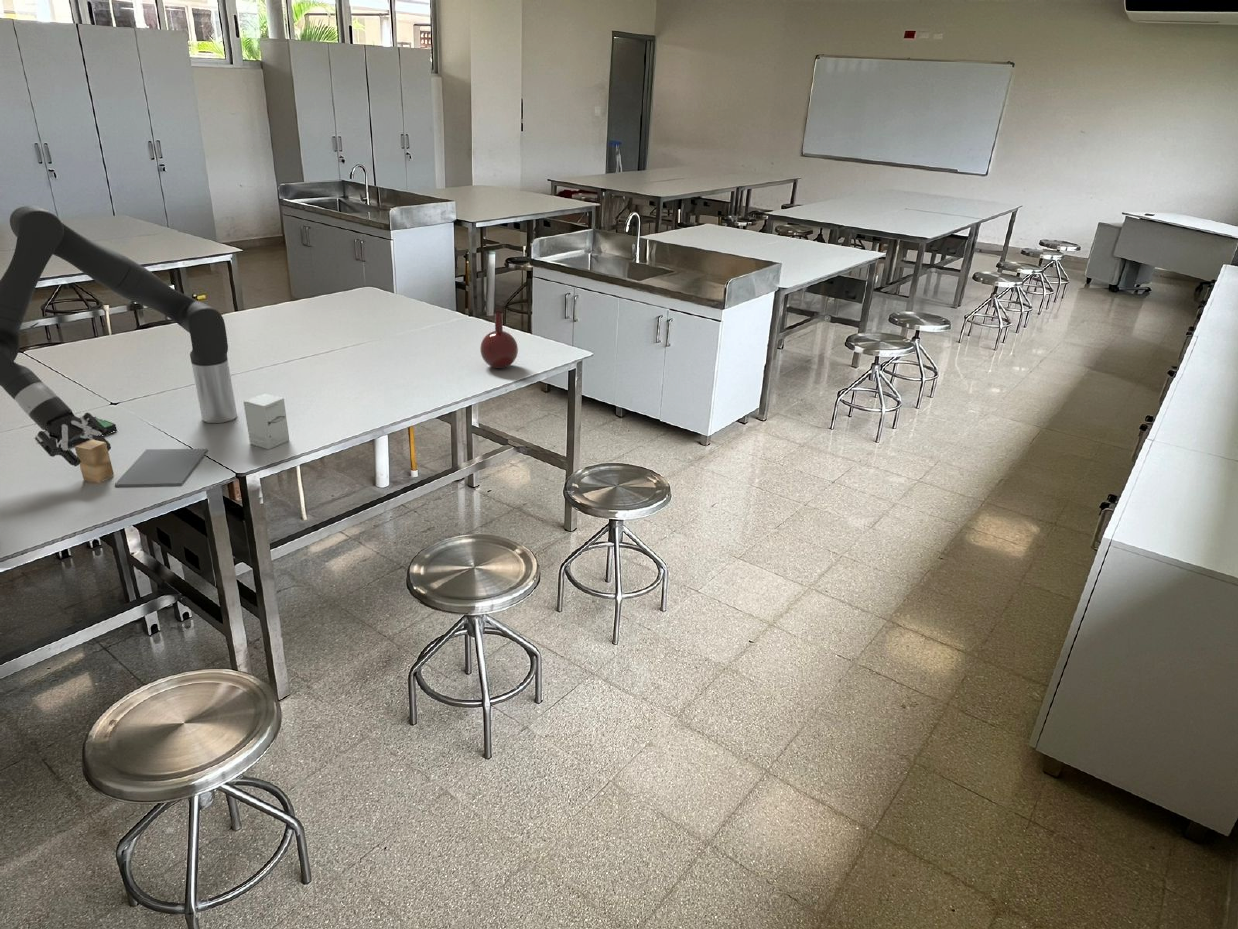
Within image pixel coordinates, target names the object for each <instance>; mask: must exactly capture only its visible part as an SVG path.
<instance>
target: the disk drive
mask: <svg viewBox="0 0 1238 929" xmlns="http://www.w3.org/2000/svg"><path fill="white" fill-rule="evenodd" d="M93 417H94V418H95V419H96V420H97V421H98V422H99V423H101V424H102V425H103V426H104V427H105V428H106V430H105V432H104V433H103V434H102V435H105V436H108V435H110V434H109V433H111V432H113V431H117V432H118V430H117V429H118V428H117V425H116V424H115V423H114V422H111V421H108V420H106V419H102V418H99V417H97V416H93ZM82 424H83V423H82ZM83 425H84V424H83ZM86 426H87V425H86ZM42 431H43V432H45V430H42ZM83 432H85V430H83ZM107 434H108V435H107ZM111 434H112V433H111ZM92 435H93V434H92ZM50 439H51V440H52V442H53V443H54V444H55V445H56V439H55V438H52V437H50ZM88 440H91V439H89V438H82V437H79V438H77V439H73V440H72V441H70V442H68V443H67V444H68V448H71V447H73V446H72V445H74V446H77V445H79V444H82V443H84V442H86V441H88ZM56 446H57V445H56Z"/></svg>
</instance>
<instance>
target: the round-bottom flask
mask: <svg viewBox="0 0 1238 929" xmlns="http://www.w3.org/2000/svg"><path fill="white" fill-rule="evenodd" d="M503 315H504V312H503V311H500V310H496V311H494V330H493V331H490V332H489V333H487V334H486V335H485V336H484V337H483V338H482V340H481V343H480V347H479V349H480V356H481V358H482V360H483V361H484V362H485V364H486V365H488V366H490V367H492V368H494V369H504V368H507V367H509V366H511V365H512V364H513V363H514V362H515V361H516V359H517V357H518V353H519V352H518V351H519V348H518V343H517V340H516V339H515V338H514V337H513V335H512V334H510V333H509V332H506V331H504V330H503V328H504V327H503Z"/></svg>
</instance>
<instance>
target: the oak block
mask: <svg viewBox="0 0 1238 929" xmlns="http://www.w3.org/2000/svg"><path fill="white" fill-rule="evenodd" d="M74 449H75V453H76V454H75V455H76V456H77V457H78V458H79V459H80V460H81V463H80V464H79V465H78V466H79V467H80V472H81V475H82V479H83V481H85V482H89V483H96V484H100V483H102V481H103V480H105V479H107V478H108V479H110V478H112V477H114V476H115V473H114V469H113V465H112V461H111V457H110V454H109V451H108V449H107V445H106V442H102V441H96V440H88V441H86V442H83V443H80V444H77V445H74ZM113 475H114V476H113ZM111 476H112V477H111ZM109 477H110V478H109ZM108 479H107V480H108ZM105 481H106V480H105ZM103 482H104V481H103Z"/></svg>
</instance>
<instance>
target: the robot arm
mask: <svg viewBox="0 0 1238 929" xmlns="http://www.w3.org/2000/svg"><path fill="white" fill-rule="evenodd" d="M9 224H10V228H11V231H12V233H13V234H14V236H15V237H16V242H15V243H16V244H15V249H14V252H13V256H12V258H11V261H10V262H9V264H8V267H7V268H6V271H5V272H4V274H3V275H2V277H1V278H0V387H2V389H3V390H4V391H5V392H6V393H7V394H8V395H9V396H10V397H11V398H12V399H13V400H14V401H15V402H16V403H17V406H19V408H20V409H21V410H22V411H24V413H25V414H26V415H27V416H28V417H30V419H31V420H32V421H33V422H34V423H35V424H36V425H37V426H38V427H39V428H40V429H41V430H40V431H39V432H38V433H37V434H36V435H35V437H34V439H35V441H36V442H37V443H38V445H39V446H41V448H43V450H44V451H45V452H46V453H47V454H48V456H50V457H55V456H60V457H62V458H64V460H65V461H66V462H67V463H68V464H69V465H71V466H73V467H78V466H80V465H79V464H80V463H81V460H80V459H79V458H78V457H77V454H75V453H74V452H73V451H72V450H71V449H69V447H68V444H67V443H68V442H70V441H72V440H73V439H77V438H79V437H82V438H89V439H91V440H96V441H102V442H106V445H107V449H108V452H109V451H110V450H111V449H112V445H111V443H110V442H109V441H108V440H107V439H106V438H105V437H104V436H102V434H103V433H104V432H105V430H106V428H105V427H104V426H103V425H102V424H101V423H99V422H98V421H97V420H96V419H95V418H94V417H95V416H94V415H92V414H91V413H90V412H85V413H84V414H83V415H82V416H80V417H78V416H76V415H75V413H74V412H73V411H72V409H71V408H70V407H69V406H68V405H67V404H66V403H65V402H64V400H62V399H61V398H60V396H59V395H57V393H55V391H53V389H51V388H50V387H49V386H48V385H47V384H45V383H44V382H43V381H42V379H40V378H39V377H38V375H36V374H35V373H34V372H33V371H32V370H31V369H30V368H28V367H27V366H25V365H21V364H19V363H17V362H15V361H16V359H17V356H18V354H19V350H20V341H21V340H20V339H21V326H22V324H23V322H24V320H25V317H26V313H27V312H28V310H29V309H28V308H29V306H30V303H31V301H32V298H33V296H34V293H35V291H36V288H37V286H38V283H39V280H40V279H41V276H42V274H43V273H44V270H45V269H46V266H47V265H48V263H49V261H50V260H51V258H52V256H53V255H54V256H56V257H58V258H60V259H62V260H63V261H65V262H67V263H69V264H70V265H72V266H74V267H75V268H76V269H78V270H79V271H81V272H82V274H85V275H86V276H88V277H89V278H91V279H92V280H94V281H95V282H96V283H98V284H100V285H102V286H103V287H104V288H106V289H108V290H110V291H112V292H113V293H115V294H117V295H119V296H121V297H123V298H124V299H127V300H129V301H131V302H133V303H136V304H138V305H141V306H144V307H146V308H149V309H152V310H154V311H156V312H158V313H160V314H162V315H164V316H165V317H166V318H168V319H170V320H171V321H173V322H174V323H176V324H177V325H178V326H180V327H181V328H182V329H183V330H185V331H186V332H188V333H189V334H190V341H191V342H190V343H191V349H192V350H191V351H190V353H189V358H190V362H191V368H192V374H193V377H194V378H193V379H194V383H195V389H196V394H197V398H198V404H199V409H200V410H199V411H200V415H201V420H202V421H203V422H204V423H207V424H221V423H222V424H223V423H226V422H231V421H233V420H234V419H236V418H238V413H237V405H236V400H235V394H234V389H233V388H234V387H233V383H232V376H231V372H230V366H229V360H228V352H229V343H228V337H227V336H228V335H227V330H226V329H227V327H226V324H225V319H224V317H223V315H222V314H221V312H220V311H219V310H218V309H215V308H214V307H213V306H211V305H208V304H206V303H205V302H202V301H200V300H197V299H195V298H193V297H190V296H188V295H186V294H184V293H182V292H180V291H179V290H176V289H174V288H173V287H172V286H170V285H169V284H167V283H166V282H164V281H163V280H162V279H161V278H159V276H157V275H156V274H155V273H153V272H151V271H150V270H148V269H147V268H146V267H144V266H143V265H141V264H139V263H137V262H136V261H134V260H133V259H131V258H129V257H127V256H126V255H123V254H121V253H119V252H117V251H116V250H114V249H111V248H109V247H107V246H105V245H102V244H100V243H98V242H96V241H93V240H91V239H89V238H87V237H85V236H83V235H81V234H80V233H78V232H77V231H75V230H74V229H72V228H71V227H69V226H68V225H66V224H64V222H62V221H61V219H60V218H59V217H58V216H57V215H55V213H53V212H51V211H49V210H47V209H46V208H42V207H40V206H37V205H24V206H21V207H17V208H15V209H14V210H13V211H12V212H11V214H10V216H9ZM82 423H83V424H84V425H83V424H82ZM86 425H87V426H86ZM83 430H85V432H83ZM43 431H45V432H43ZM92 434H93V435H92ZM50 437H52V438H55V439H56V445H57V446H56V445H55V444H54V443H53V442H52V440H51V439H50Z"/></svg>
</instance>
